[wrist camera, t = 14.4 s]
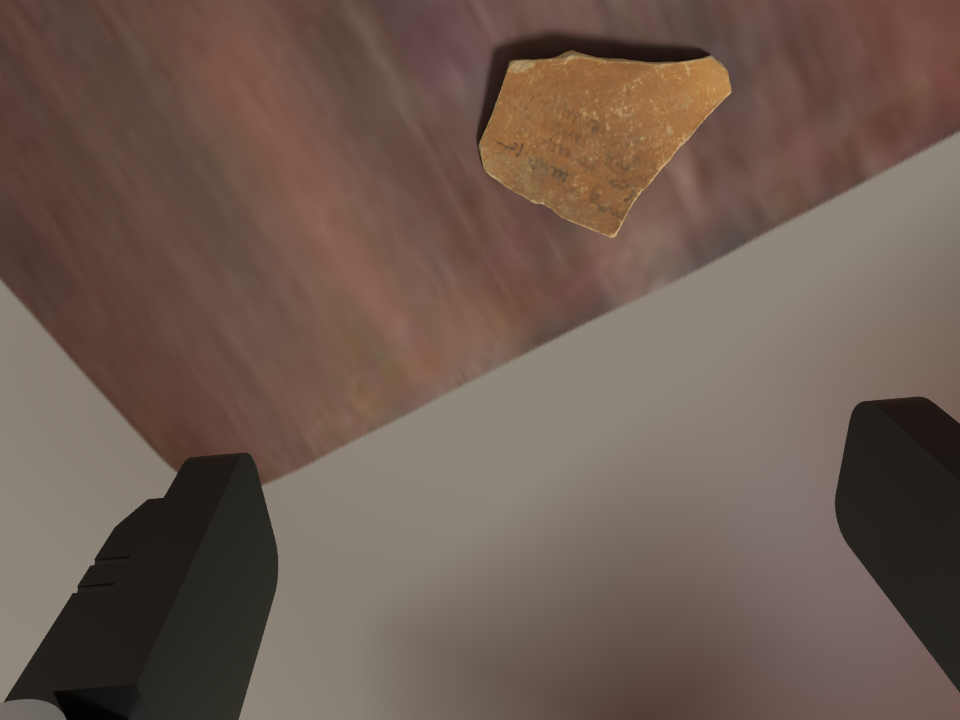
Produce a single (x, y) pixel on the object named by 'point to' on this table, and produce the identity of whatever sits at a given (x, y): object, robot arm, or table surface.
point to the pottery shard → (595, 129)
